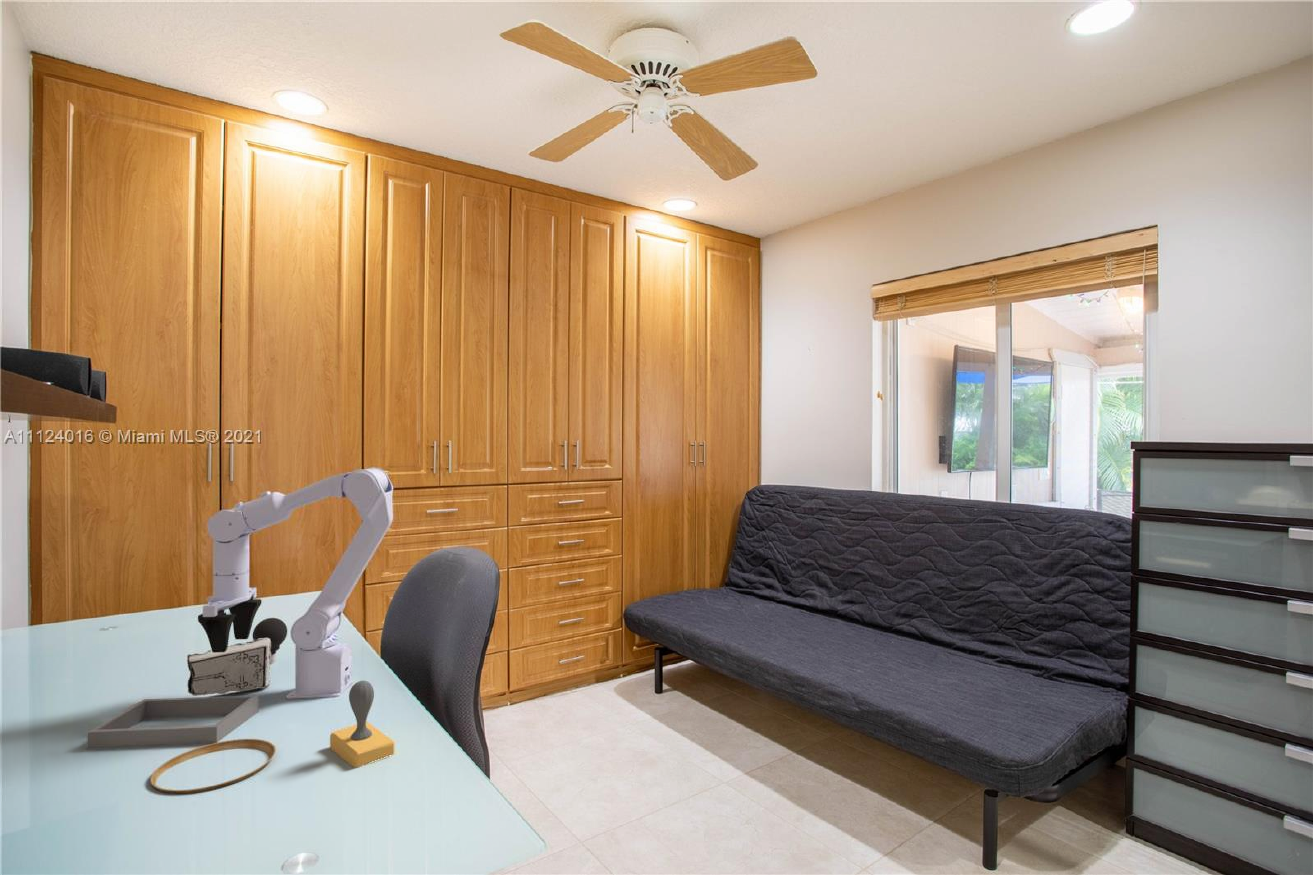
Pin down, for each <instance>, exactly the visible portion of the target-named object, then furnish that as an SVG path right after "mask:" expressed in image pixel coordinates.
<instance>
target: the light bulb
mask: <svg viewBox="0 0 1313 875" xmlns="http://www.w3.org/2000/svg"><path fill="white" fill-rule="evenodd" d="M287 635H288V627H287V625H286V623H285V622H284V621H283V620H282V619H279V618H275V617H268V618H265V619H263V620H261V621H260V622H258V623H257V624H256V626H255V627H254V629H253V631H252V641H253V640H256V639H259V638H269V639H270V641H271V649H270V651H271V652H270V653H271V658H270V666H271V665H273V664H274V663H276V661H277V651H278V650H279V649H280V648H281V647H280V646H281V645H282V644H283V643H284V642H285V640H286V638H287V637H288V636H287Z"/></svg>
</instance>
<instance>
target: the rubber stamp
mask: <svg viewBox="0 0 1313 875" xmlns="http://www.w3.org/2000/svg"><path fill="white" fill-rule="evenodd" d="M348 693H349V694H348V701H349V704H350V707H351V710H352V712H353V715H354V717H355V720H356V724H354V725H352V726H347V727H345V728H341V729H337V730H334V731H332V732H331V733H330V735H329V749H330V748H331V749H330V750H332V751H333V752H334V751H335V752H336V753H335V752H334V753H335V754H336V755H338V756H339V755H340V757H341V758H342V759H343V760H345V762H346V763H348V764H349V765H351V766H352V767H353V766H354V769H355V768H361V767H363V766H362V765H364V766H367V765H369V764H368V763H370V762H372V761H375V760H378V759H381V758H384V757H386V756H389V755H393V754H394V755H395V741H394V740H393V739H391V738H390V737H388V735H386V734H385V733H383V731H380V730H379V729H378V728H376V727H375V726H373V725H372V724H371V723H369V722H368V721H367V719H368V717H369V716H368V715H369V713H370V710H371V708H372V705H373V702H374V697H375V691H374V687H373V685H372V684H371V682H369V681H366V680H359V681H357V682H355V684H353V685H352V686H351V688H350V690H349V692H348ZM394 755H393V756H394ZM366 764H367V765H366ZM370 764H371V763H370ZM360 766H361V767H360Z"/></svg>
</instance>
